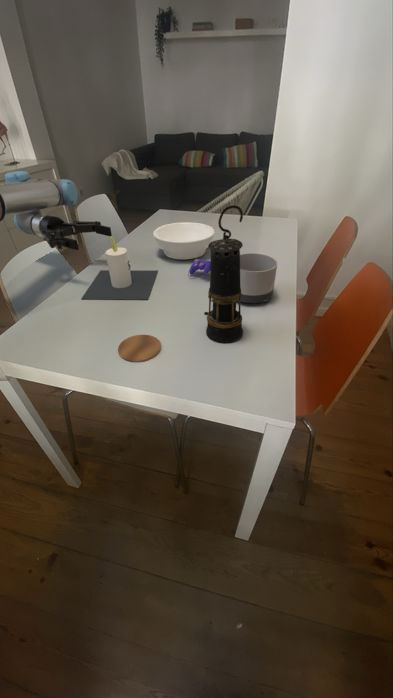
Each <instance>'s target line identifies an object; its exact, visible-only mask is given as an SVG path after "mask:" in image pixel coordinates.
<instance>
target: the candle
mask: <svg viewBox="0 0 393 698" xmlns="http://www.w3.org/2000/svg"><path fill="white" fill-rule="evenodd" d="M109 239H110V242H111V248H108V249H107V250H106V251H105V259H106V263H107V269H108V270H109V273H110V278H111V283H112V286H113V287H115V288H125V287H128V286H130V285H131V284H132V280H131V274H130V270H131V264H130V260H129V255H128V249H127V248H125V247H118V246H117V244H116V241H115V239H114V237H113V236H109Z"/></svg>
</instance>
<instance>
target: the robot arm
mask: <svg viewBox="0 0 393 698" xmlns="http://www.w3.org/2000/svg"><path fill="white" fill-rule="evenodd" d="M4 181H5V182H3V183H0V223H2V222H3V221H4V220H5V218H7V217H13V223H14V225H15V227H16V229H18V230H19V231H21V232H23V233H25V234H28V235H33V236H37V237H41V238H42V239H43V241H45V242H46V243H47V244H48V246H49V247H50V249H54V248H56V247H57V249H58V250H62V249H63V247H64V248H67V249H71V250H74V251H78V250H80V249H79V244H78V241H77V239H73V238H71V237H70V236H77V235H79V234H84V233H87V234H88V233H95V234H98V235H102V236H106V237H110V236H111V237H113V234H112V229H111V227H110V226H106V225H102V223H101V221H98V220H95V221H86V220H85V221H83V220H82V221H81V220H73V221H72V222H70V223H69V222H66V221H64V220H63V219H62V218H60V217H58V216H54V215H50V214H46V213H42V212H41V210H45V209H48V208H54V207H60V206H61V207H62V206H65V207H69V206H75V205H77V203H78V200H79V199H78V198H79V192H78V189H77V185H76V184H75V182H74V181H72V180H71V179H64V178H61V179H57V178H55V179H54V178H53V179H51V178H50V179H49V178H48V179H47V178H46V179H42V178H32V177H31V175H30V173H29V172H28V171H25V170H17V171H9V172H6V173H5V175H4ZM69 237H70V238H69Z"/></svg>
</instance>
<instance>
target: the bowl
mask: <svg viewBox="0 0 393 698" xmlns="http://www.w3.org/2000/svg"><path fill="white" fill-rule="evenodd" d="M152 233H153V234H152V235H153V237H154V240H155V241H156V244H157V246H158V247H159V248H160V249H161V250H163V253H164V255H165V256H167V257H168V258H170V259H175V260H192V259H198V258H200V257H202V256H203V255H204V254H205V253H206V250H207V248H209V247H208V246H209V244H210V243H211V242H213V240H214V237H215V236H214V235H215V233H216V230H215V228H213V227H212V226H210V225H208V224H205V223H200V222H191V221H190V222H189V221H181V222H172V223H167V224H164V225H160V226H159V227H156V228H155V229H154V231H153V232H152Z"/></svg>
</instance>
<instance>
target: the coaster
mask: <svg viewBox="0 0 393 698" xmlns="http://www.w3.org/2000/svg"><path fill="white" fill-rule="evenodd" d="M161 349H162V344H161V342H160V340H159V339H158V338H157V337H155V336H153V335H149V334H136V335H132V336H129V337H127V338H125V339H124V340H122V341H121V342H120V344H119V345H118V347H117V352H118V355H119V357H120V358H121V359H123V360H124V361H127V362H130V363H143V362H147V361H150V360H152V359H153V358H155V357H156V356H157V355H159V354H160V352H161Z"/></svg>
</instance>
